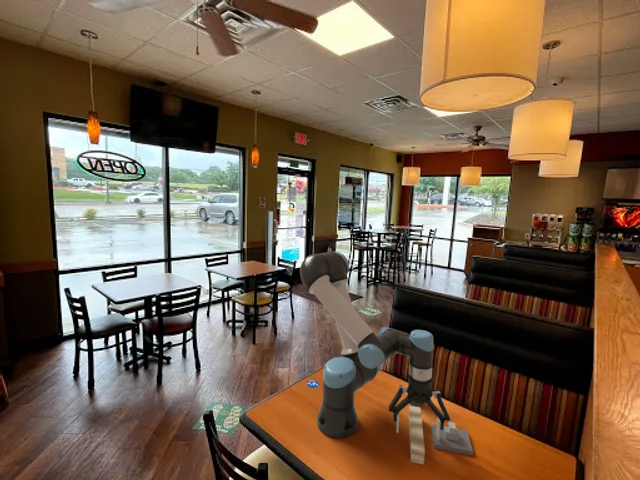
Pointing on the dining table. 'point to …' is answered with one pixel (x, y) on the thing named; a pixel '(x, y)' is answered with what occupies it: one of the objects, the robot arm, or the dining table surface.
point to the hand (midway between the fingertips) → (417, 433)
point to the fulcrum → (452, 439)
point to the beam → (416, 435)
